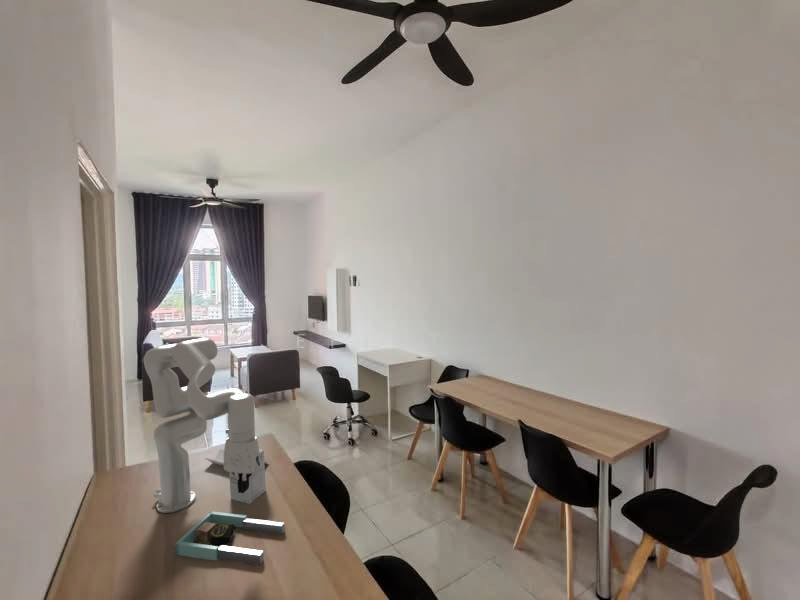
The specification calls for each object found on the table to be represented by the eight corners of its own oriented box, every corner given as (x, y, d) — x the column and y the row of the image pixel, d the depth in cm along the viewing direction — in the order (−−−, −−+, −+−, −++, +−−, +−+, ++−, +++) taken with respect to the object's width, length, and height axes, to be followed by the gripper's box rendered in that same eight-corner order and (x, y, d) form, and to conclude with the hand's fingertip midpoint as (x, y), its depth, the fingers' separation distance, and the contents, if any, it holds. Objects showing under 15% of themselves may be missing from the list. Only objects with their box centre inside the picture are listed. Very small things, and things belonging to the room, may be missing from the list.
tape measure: (229, 547, 117) (229, 536, 116) (206, 550, 116) (206, 539, 115) (236, 533, 123) (235, 522, 123) (213, 535, 122) (213, 524, 122)
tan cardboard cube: (196, 541, 120) (196, 529, 119) (206, 533, 123) (205, 521, 123) (207, 543, 119) (206, 531, 118) (216, 535, 122) (215, 523, 122)
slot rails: (217, 559, 112) (217, 549, 112) (246, 526, 126) (246, 518, 126) (260, 565, 109) (259, 555, 109) (284, 531, 124) (284, 522, 123)
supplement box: (248, 486, 151) (246, 445, 149) (266, 490, 147) (264, 449, 146) (229, 499, 142) (227, 456, 140) (248, 504, 138) (246, 460, 137)
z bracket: (221, 467, 174) (228, 454, 178) (262, 478, 164) (269, 464, 168) (204, 458, 166) (212, 444, 169) (246, 469, 156) (254, 454, 159)
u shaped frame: (175, 554, 114) (174, 543, 114) (210, 520, 129) (210, 511, 129) (216, 560, 111) (215, 549, 111) (247, 525, 127) (247, 515, 127)
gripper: (212, 437, 113) (214, 494, 115) (256, 441, 111) (258, 500, 112) (227, 427, 121) (229, 481, 122) (270, 431, 118) (271, 486, 119)
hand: (243, 490), depth 117 cm, fingers closed
